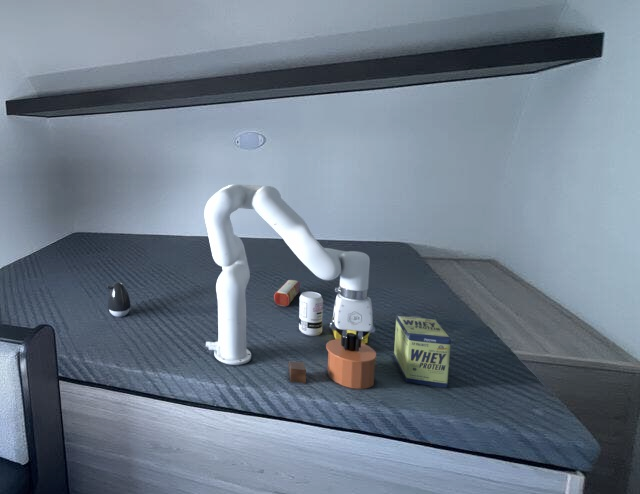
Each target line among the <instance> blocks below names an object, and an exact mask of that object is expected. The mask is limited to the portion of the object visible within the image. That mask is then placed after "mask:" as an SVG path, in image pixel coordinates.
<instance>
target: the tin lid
mask: <svg viewBox="0 0 640 494" xmlns="http://www.w3.org/2000/svg"><path fill="white" fill-rule="evenodd" d="M347 338H348V350H345V349H344V347H343V346H341V339H335V338H334V339H331V340H329V341H327V343H326V344H325V348H326V351H327V353H328V352H329V353H331V354H332V355H334V356H335V357H337V358H340V359H343V360H346V361H350V362H356V363H366V362H371V361H373V360H374V359H375V358H376V359H377V352H376V351H375V350H374V348H372V347H371V346H370V345H368V344H367V343H365V344H363V343H361V348H359V352H358V351H356V350H355V340H356V335H355V334H354V333H347ZM376 359H375V360H376Z"/></svg>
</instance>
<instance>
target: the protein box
mask: <svg viewBox="0 0 640 494" xmlns="http://www.w3.org/2000/svg"><path fill="white" fill-rule="evenodd" d="M451 343H452V339H451V337H450V336H449V335H448V334H447V333H446V331H445V330H444V329H443V327H442V326H441V325H440V324H439V322H438V321H437V320H436V319H435V318H434V317H426V316H415V315H406V314H396V315H395V331H394V350H393V358H394V360H395V362H396V364H397V366H398V368H399V370H400V372H401V375H402V376H403V379H404V380H405V382H406V383H411V384H417V385H425V386H433V387H438V388H445V389H447V388H448V381H449V368H450V358H451V357H450V356H451V345H452V344H451Z"/></svg>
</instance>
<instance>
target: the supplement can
mask: <svg viewBox="0 0 640 494" xmlns="http://www.w3.org/2000/svg"><path fill="white" fill-rule="evenodd" d="M298 303H299V305H298V307H299V309H298V310H299V311H298V313H299V314H298V329H299V331H300V332H301V333H302V334H304V335H307V336H314V337H315V336H319V335H321V334H322V333H323V315H324V313H323V312H324V299H323V297H322V295H321V293H318V292H316V291H303V292H301V294H300V296H299V302H298Z"/></svg>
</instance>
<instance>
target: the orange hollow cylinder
mask: <svg viewBox="0 0 640 494" xmlns="http://www.w3.org/2000/svg"><path fill="white" fill-rule="evenodd" d="M376 359H377V357H376V358H375V359H374V360H373V361H371V362H366V363H356V362H350V361H346V360H343V359H340V358H337V357H335V356H334V355H332V354H331V353H329V352H328V351H327V375H328V377H329V378H330V379H331V380H332V381H333V382H335V383H336V384H338V385H341V386H343V387H346V388H349V389H354V390H355V389H356V390H365V389H369V388H371V387H373V386H374V384H375V379H376V378H375V375H376Z"/></svg>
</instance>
